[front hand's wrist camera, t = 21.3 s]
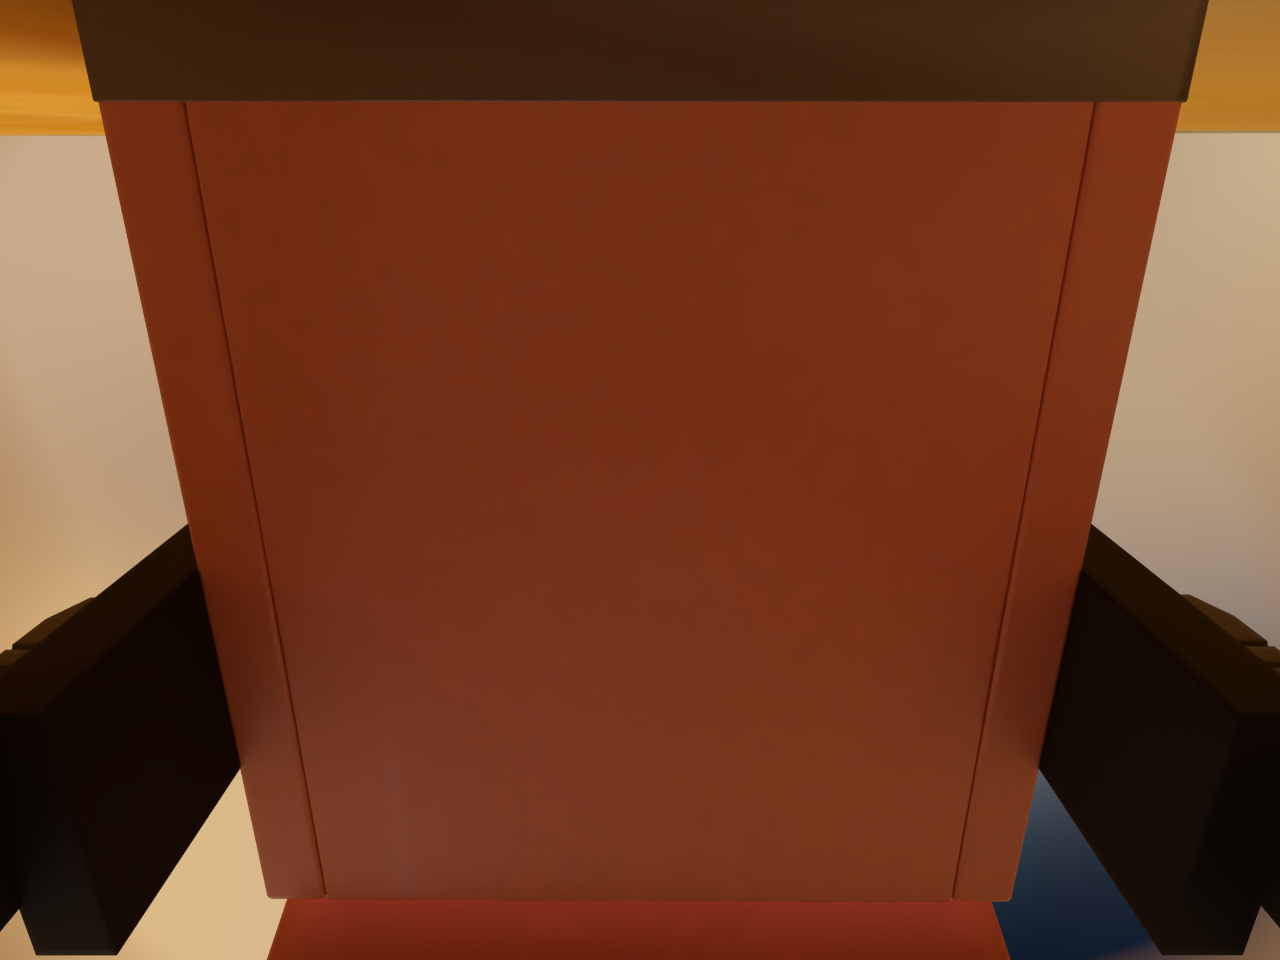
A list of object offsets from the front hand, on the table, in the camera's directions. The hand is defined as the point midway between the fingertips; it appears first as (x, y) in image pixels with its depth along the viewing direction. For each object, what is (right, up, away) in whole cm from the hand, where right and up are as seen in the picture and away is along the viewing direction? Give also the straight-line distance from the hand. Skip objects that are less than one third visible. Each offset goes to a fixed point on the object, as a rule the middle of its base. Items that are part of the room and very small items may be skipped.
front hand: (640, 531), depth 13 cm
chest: (0, +8, 0) cm, 8 cm away
